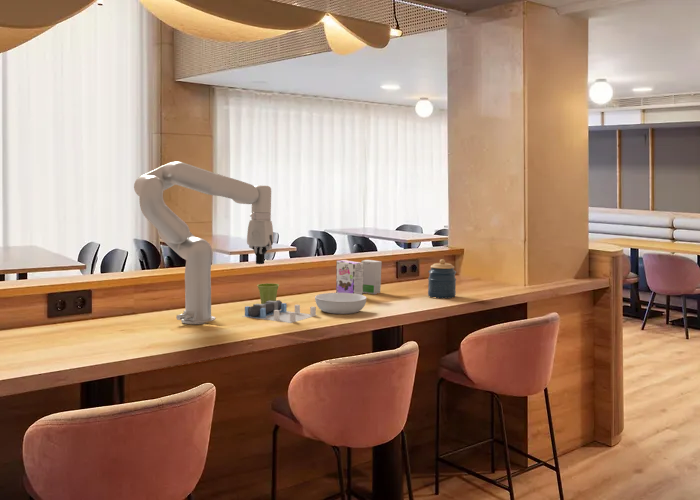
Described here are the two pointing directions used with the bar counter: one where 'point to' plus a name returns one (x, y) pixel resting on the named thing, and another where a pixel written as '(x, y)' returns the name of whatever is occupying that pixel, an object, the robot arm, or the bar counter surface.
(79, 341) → the bar counter surface
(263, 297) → the plant pot
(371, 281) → the skincare box
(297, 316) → the blue grey peg board
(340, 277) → the candy box
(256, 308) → the dark grey rounded bar
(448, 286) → the canister
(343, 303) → the serving bowl
